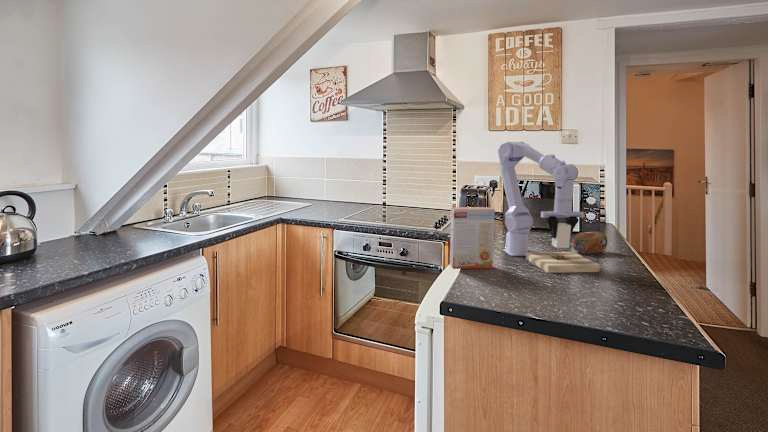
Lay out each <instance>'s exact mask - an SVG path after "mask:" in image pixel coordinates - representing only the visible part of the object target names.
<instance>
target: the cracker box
mask: <svg viewBox="0 0 768 432" xmlns="http://www.w3.org/2000/svg"><path fill="white" fill-rule="evenodd" d="M495 212H496V210H495V208H493V207H490V206H487V207H486V206H481V207H480V206H479V207H478V206H466V207H465V206H460V207H459V206H455V207H454V206H452V207H450V244H449V245H450V246H449V248H450V250H449V266H450V267H451V268H452V269H453V270H455V269H456V270H457V269H458V270H461V269H463V270H464V269H465V270H467V269H469V270H471V269H472V270H473V269H481V270H483V269H487V270H488V269H489V270H490V269H493V265H494V264H493V263H494V241H495V239H494V238H495V237H494V235H495V215H496V214H495Z"/></svg>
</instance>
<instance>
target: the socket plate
mask: <svg viewBox="0 0 768 432" xmlns="http://www.w3.org/2000/svg"><path fill="white" fill-rule="evenodd" d="M525 260H527V261H529V262H530V263H531V264H533V265H535V266H537V267H538V268H540V269H541V270H543V271H545V272H546V273H548V274H549V273H558V274H559V273H599V272H600V269H601V264H599V263H597V262H595V261H593V260H590V259H589V258H586V257H584V256H582V255H580V254H579V253H576V252H573V251H538V252H537V251H536V252H535V251H534V252H533V251H530V252H528V251H527V252H526V256H525Z"/></svg>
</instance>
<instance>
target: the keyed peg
mask: <svg viewBox="0 0 768 432" xmlns="http://www.w3.org/2000/svg"><path fill="white" fill-rule="evenodd" d="M570 233H571V225H569V224H566V222H563V223H562V222H558V225H557V233H556V238H552V237H551V238H552V239H551V246H553V247H555V248H556V249H569V248H570V245H571V244H570V243H571V237H570Z"/></svg>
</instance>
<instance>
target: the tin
mask: <svg viewBox="0 0 768 432" xmlns="http://www.w3.org/2000/svg"><path fill="white" fill-rule="evenodd" d="M607 245H608V237H607V235H606V234H605V233H604V232H602V231H588V232H579V233H576V234H575V235H574V236H573V238H572V248H573V250H574V251H575V253H576V252H577V253H578V254H582V255H585V254H597V253H602V252H603V251H604V250H605V249H606V248H607Z"/></svg>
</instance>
